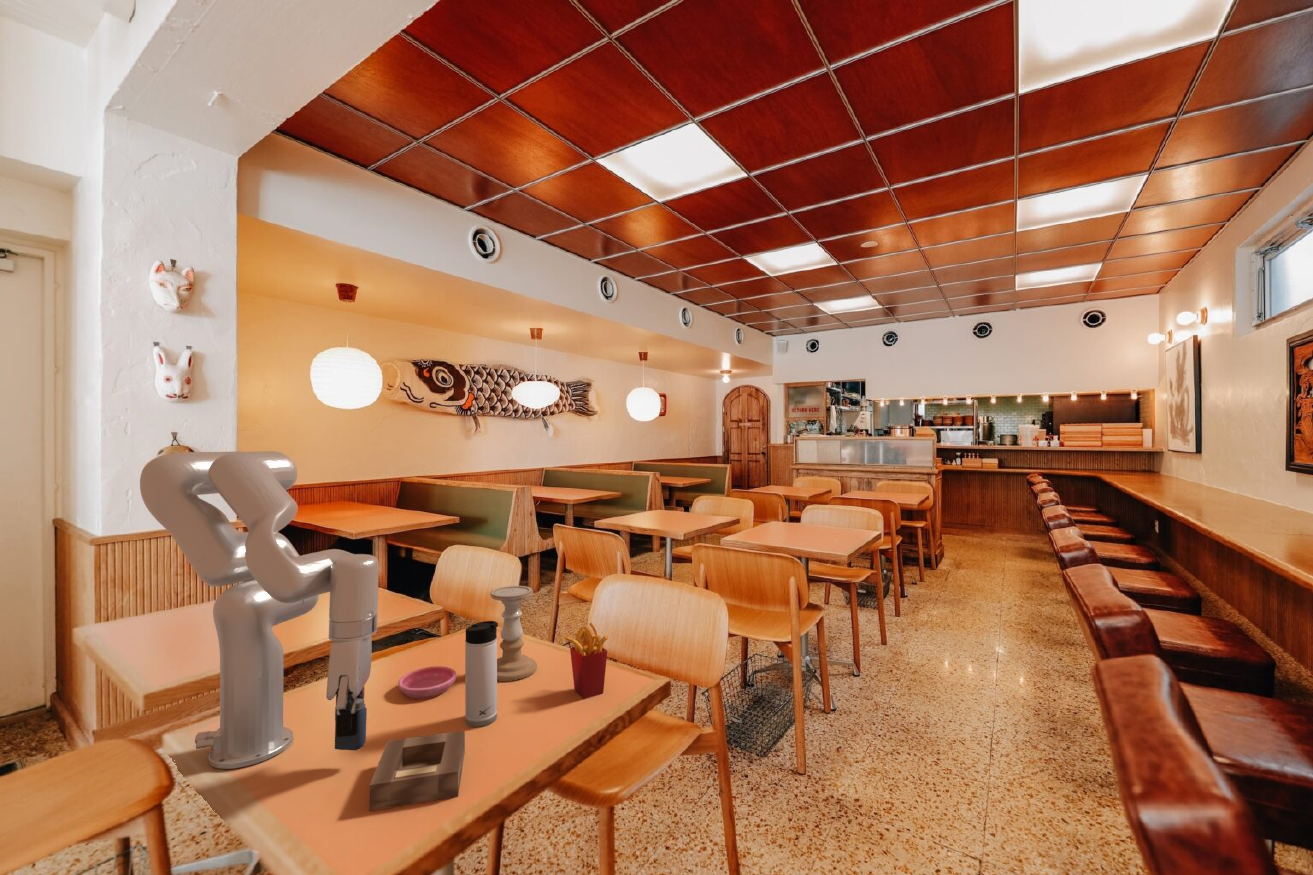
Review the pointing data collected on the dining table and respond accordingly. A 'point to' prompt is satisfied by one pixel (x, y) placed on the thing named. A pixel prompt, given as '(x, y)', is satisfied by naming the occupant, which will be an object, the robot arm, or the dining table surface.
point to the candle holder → (512, 635)
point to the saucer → (427, 682)
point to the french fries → (588, 662)
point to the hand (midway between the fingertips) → (350, 728)
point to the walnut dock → (418, 770)
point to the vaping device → (360, 738)
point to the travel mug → (481, 674)
